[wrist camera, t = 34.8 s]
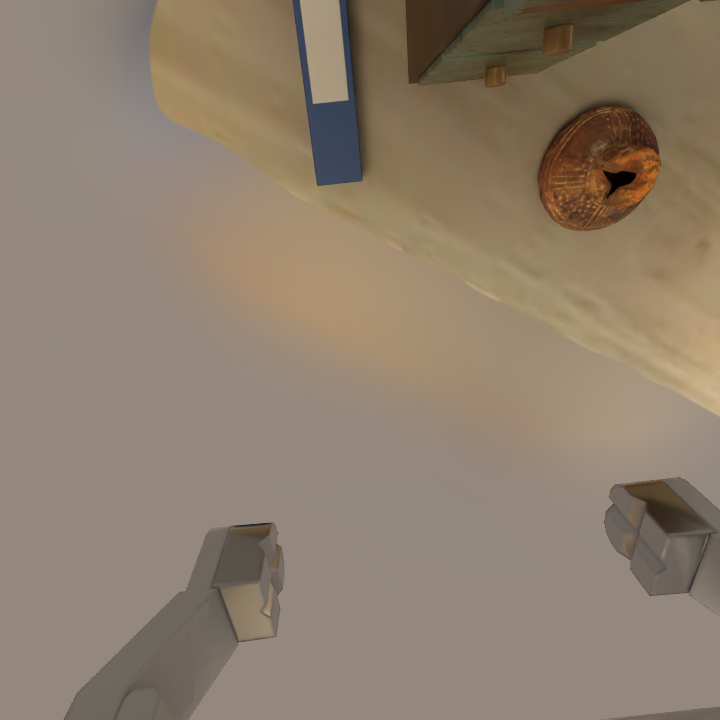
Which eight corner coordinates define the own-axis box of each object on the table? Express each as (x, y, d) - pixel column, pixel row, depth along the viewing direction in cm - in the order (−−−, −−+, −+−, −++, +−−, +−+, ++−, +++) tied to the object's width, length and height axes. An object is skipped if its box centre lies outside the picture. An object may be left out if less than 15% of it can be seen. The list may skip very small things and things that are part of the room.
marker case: (337, -75, 34) (337, -97, 31) (360, 180, 43) (362, 180, 40) (285, -69, 34) (280, -90, 31) (318, 184, 43) (317, 186, 40)
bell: (638, 222, 46) (689, 232, 39) (531, 235, 46) (564, 246, 39) (660, 100, 41) (722, 87, 34) (540, 114, 41) (579, 104, 34)
